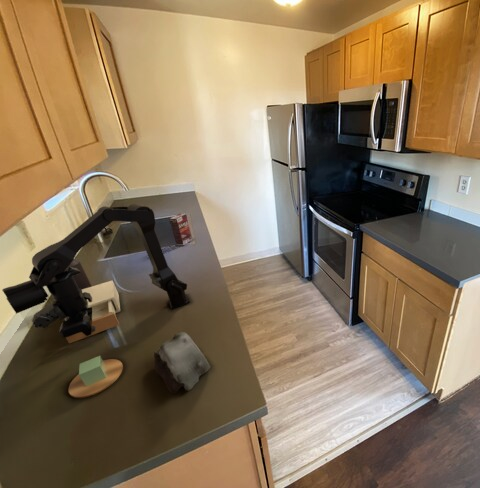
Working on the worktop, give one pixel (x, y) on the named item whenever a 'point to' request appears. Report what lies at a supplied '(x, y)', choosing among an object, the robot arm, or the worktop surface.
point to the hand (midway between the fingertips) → (89, 334)
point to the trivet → (112, 374)
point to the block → (92, 371)
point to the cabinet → (103, 295)
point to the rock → (180, 362)
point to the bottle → (80, 275)
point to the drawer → (99, 320)
